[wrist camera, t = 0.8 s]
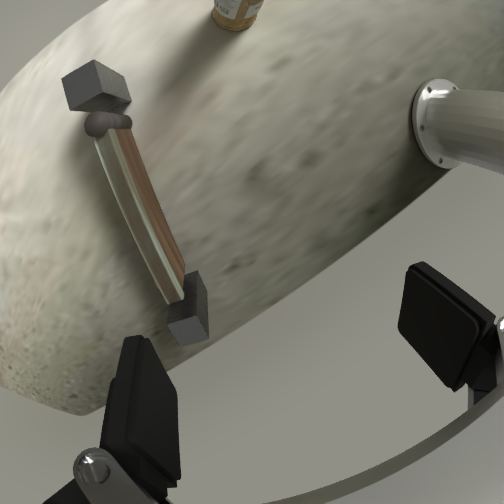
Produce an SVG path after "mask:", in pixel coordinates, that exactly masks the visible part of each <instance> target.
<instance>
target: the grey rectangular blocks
mask: <svg viewBox="0 0 504 504" xmlns="http://www.w3.org/2000/svg"><path fill="white" fill-rule="evenodd" d="M61 80H62V83H63V87H64V91H65V95H66V98H67V102H68V105H69V109H70V111H83V112H95V111H100V112H110V111H112V110H114V109H116V108H119V107H121V106H123V105H125V104H127V103H129V102H131V101H132V100H131V97H130V94H129V91H128V88H127V85H126V82H125V78H124V76H122V75H120V74H119V73H117V72H115V71H114V70H112V69H110V68H108V67H107V66H105V65H103V64H101V63H100V62H98V61H96V60H92V61H90V62H88V63H86V64H85V65H83V66H81V67H79V68H78V69H76V70H74V71H73V72H71V73H69V74H68V75H66V76H65V77H63V78H61ZM183 292H184V299H183V300H180V301H177V302H174V303H171V304H170V305H169V312H168V319H167V326H168V328H169V329H170V331H171V333H172V334H173V336H174V337H175V339H176V341H177V342H178V344H179V345H180V347H182V346H186V345H189V344H193V343H196V342H200V341H203V340H207V339H209V326H208V303H207V290H206V288H205V286H204V283H203V281H202V279H201V277H200V275H199V272H198V271H195V272H192V273H189V274H186V275H184V282H183Z"/></svg>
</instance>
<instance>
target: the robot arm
mask: <svg viewBox="0 0 504 504" xmlns="http://www.w3.org/2000/svg"><path fill="white" fill-rule="evenodd" d="M412 122H413V129H414V133H415V137H416V140H417V143H418V145H419V147H420V149H421V151H422V153H423V154H424V156H425V157H426V158H427V159H428V160H429V161H430V162H431V163H433V164H434V165H436V166H438V167H442V168H445V169H451V168H454V167H457V166H458V165H460V164H461V163H462V162H466V163H469V164H472V165H475V166H479V167H482V168H485V169H488V170H491V171H494V172H497V173H500V174H503V175H504V92H498V91H483V90H460V89H459V88H458V87H457V86H456V85H454V84H453V83H452V82H450V81H448V80H445V79H432V80H428V81H427V82H425V83H424V84H423V85H422V86H421V87H420V88H419V90H418V92H417V94H416V96H415V99H414V103H413V110H412ZM495 317H496V316H495V315H494V314H493V313H492V312H490V311H489V310H488V309H486V308H485V307H484V306H483V305H482V304H481V303H479V302H478V301H477V300H475V299H474V298H473V297H472V296H470V295H469V294H468V293H467V292H465V291H464V290H463V289H461V288H460V287H459V286H457V285H456V284H455V283H453V282H452V281H451V280H449V279H448V278H447V277H445V276H444V275H442V274H441V273H440V272H438V271H437V270H435V269H434V268H432V267H431V266H430V265H428V264H427V263H425V262H419V263H416V264H413V265H411V266H410V267H409V268H408V271H407V272H406V276H405V284H404V291H403V298H402V304H401V310H400V315H399V321H398V330H399V332H400V334H401V335H402V336H403V337H404V338H405V339H406V340H407V341H408V343H409V344H410V345H411V346H412V347H413V348H414V349H415V351H416V352H417V353H418V354H419V355H420V356H421V357H422V359H423V360H424V361H425V362H426V363H427V364H428V366H429V367H430V368H431V369H432V370H433V371H434V373H435V374H436V375H437V376H438V377H439V379H440V380H441V381H442V382H443V383H444V385H445V386H447V387H449V388H451V389H452V391H453V392H456V391H457V390H458V389H460V388H461V387H463V385H464V384H465V382H466V384H468V411H466V412H465V413H464V414H462V415H461V416H460V417H458V418H457V419H455V420H454V421H453V422H451V423H450V424H448V425H447V426H446V427H444V428H442V429H441V430H439V431H438V432H436V433H435V434H433V435H432V436H430V437H429V438H427V439H425V440H424V441H422V442H420V443H419V444H417V445H415V446H413V447H412V448H410V449H408V450H406V451H405V452H403V453H401V454H399V455H397V456H395V457H393V458H391V459H389V460H387V461H385V462H383V463H381V464H379V465H377V466H375V467H373V468H371V469H368V470H366V471H364V472H362V473H359V474H357V475H355V476H352V477H349V478H347V479H344V480H342V481H339V482H337V483H334V484H331V485H329V486H325V487H323V488H320V489H317V490H313V491H310V492H307V493H304V494H300V495H297V496H294V497H290V498H286V499H282V500H278V501H273V502H269V503H264V504H504V316H503V317H501V318H500V319H499V320H498V322H497V324H496V325H495V324H494V320H495ZM73 475H74V477H75V478H74V479H73V480H72V481H70V482H69V483H68V484H67V485H65V486H64V487H63V488H62V489H60V490H59V491H58V492H57V493H55V494H54V495H53V496H51V497H50V498H49V499H47V500H46V501H45V502H44V503H43V504H173V503H172V502H171V501H170V500H169V499H168V498H167V496H168V494H167V488H175V487H177V480H180V479H181V468H180V453H179V433H178V400H177V392H176V389H175V387H174V385H173V384H172V382H171V380H170V378H169V376H168V374H167V373H166V371H165V369H164V367H163V365H162V363H161V361H160V359H159V357H158V355H157V353H156V351H155V349H154V347H153V345H152V343H151V341H150V340H149V339H148V338H145V339H144V337H143V336H142V335H136V336H130V337H126V338H125V339H124V342H123V346H122V350H121V355H120V359H119V363H118V368H117V373H116V377H115V378H113V379H112V381H111V383H110V388H109V393H108V398H107V403H106V409H105V414H104V420H103V426H102V432H101V439H100V446H99V448H96V447H94V448H88V449H86V450H84V451H82V452H81V453H80V454H79V455H78V456H77V458H76V460H75V461H74V465H73Z"/></svg>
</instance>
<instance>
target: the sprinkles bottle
mask: <svg viewBox="0 0 504 504" xmlns="http://www.w3.org/2000/svg"><path fill="white" fill-rule="evenodd" d="M263 2H264V0H214V5H215V6H214V9H213V17H214V20H215V22H216V23H217V24H218V25H219V26H221V27H222V28H225V29H228V30H235V31H238V30H243V29H245V28H247V27H249V26H251V25H252V24H253V23H254V21H255V20H256V17H257V13H258V11H259V10H260V8H261V6H262V4H263Z"/></svg>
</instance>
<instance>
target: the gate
mask: <svg viewBox="0 0 504 504" xmlns="http://www.w3.org/2000/svg"><path fill="white" fill-rule="evenodd" d="M131 127H132V120H131V118H130V117H129V116H127V115H123V114H116V113H108V112H100V111H95V112H92V113H91V114H90V115H88V117H87V118H86V120H85V124H84V128H85V131H86V133H87V134H88V135H89V136H91V137H93V140H94V143H95V146H96V149H97V151H98V154H99V157H100V160H101V162H102V165H103V168H104V170H105V173H106V175H107V178H108V180H109V183H110V185H111V188H112V190H113V193H114V195H115V197H116V200H117V202H118V204H119V207H120V209H121V211H122V214H123V216H124V218H125V220H126V223H127V225H128V227H129V229H130V231H131V233H132V236H133V238H134V240H135V242H136V244H137V246H138V248H139V250H140V252H141V254H142V256H143V258H144V260H145V262H146V264H147V266H148V268H149V270H150V272H151V274H152V276H153V278H154V282H155V284H156V286H157V288H158V289H160V291H161V293H162V295H163V297H164V299H165V300H166V302H167V304H171V303H174V302H177V301H180V300H183V299H184V292H183V282H184V273H185V263H184V260H183V258H182V256H181V254H180V252H179V249H178V247H177V245H176V243H175V240H174V238H173V236H172V233H171V231H170V229H169V226H168V224H167V222H166V219H165V217H164V215H163V212H162V210H161V207H160V205H159V202H158V200H157V197H156V195H155V193H154V190H153V188H152V185H151V182H150V180H149V177H148V175H147V172H146V170H145V167H144V164H143V162H142V159H141V156H140V154H139V151H138V148H137V145H136V143H135V140H134V137H133V134H132V131H131Z"/></svg>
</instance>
